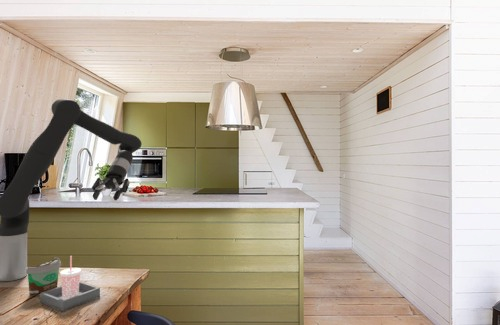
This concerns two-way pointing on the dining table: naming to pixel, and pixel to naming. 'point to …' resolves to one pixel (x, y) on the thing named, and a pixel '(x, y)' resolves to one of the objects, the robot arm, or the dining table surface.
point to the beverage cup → (70, 281)
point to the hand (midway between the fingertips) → (104, 199)
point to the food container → (43, 276)
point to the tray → (56, 301)
